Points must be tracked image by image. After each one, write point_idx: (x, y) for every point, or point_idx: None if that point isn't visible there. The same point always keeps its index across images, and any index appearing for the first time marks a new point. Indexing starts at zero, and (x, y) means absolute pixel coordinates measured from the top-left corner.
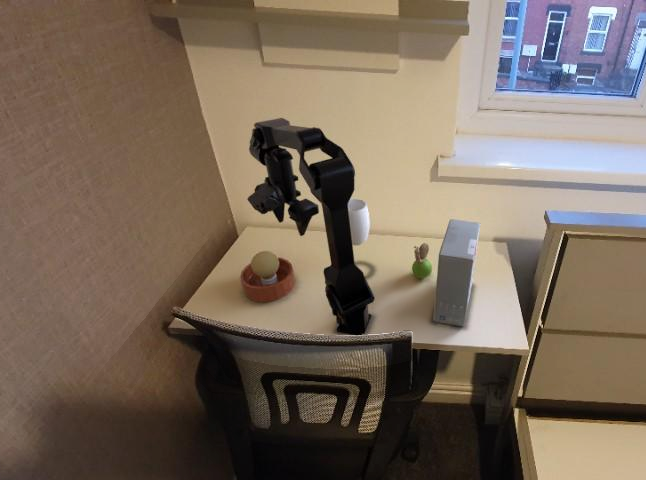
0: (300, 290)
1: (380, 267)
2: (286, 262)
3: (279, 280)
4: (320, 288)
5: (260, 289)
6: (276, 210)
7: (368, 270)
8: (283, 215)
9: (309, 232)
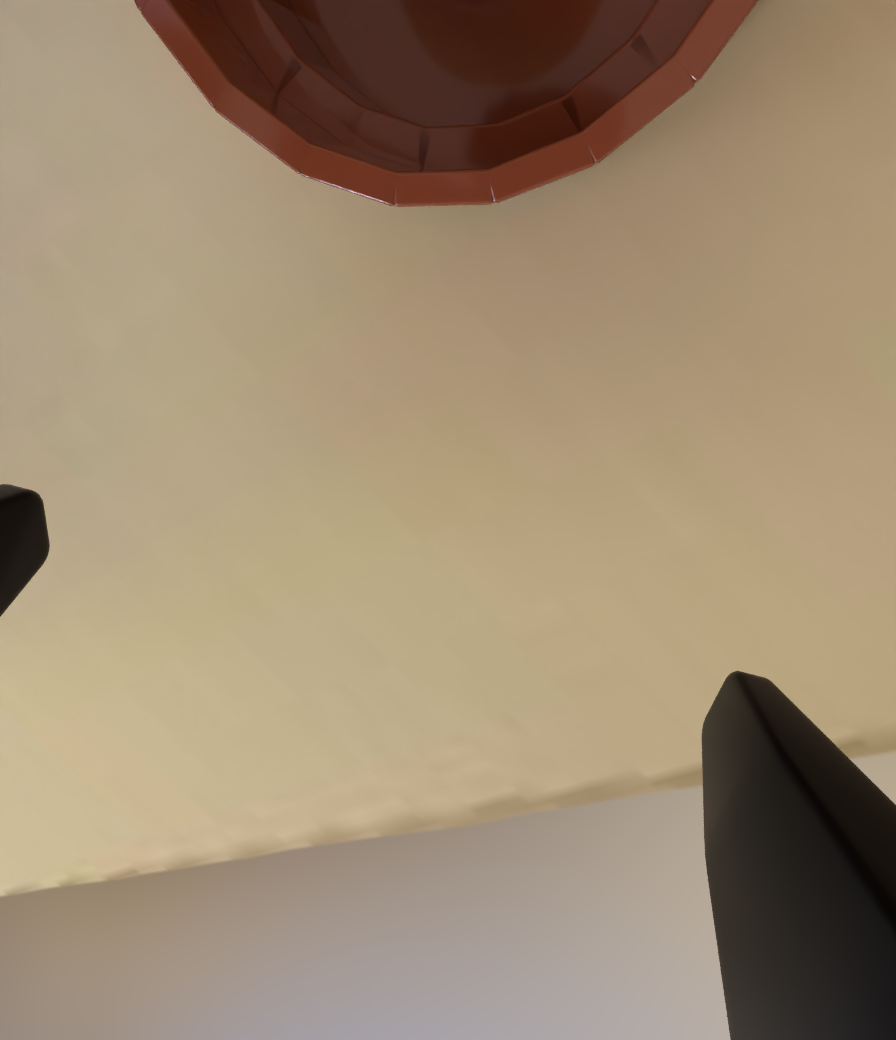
0: None
1: None
2: (379, 164)
3: (443, 18)
4: (86, 198)
5: None
6: (887, 1028)
7: None
8: (714, 866)
9: None
